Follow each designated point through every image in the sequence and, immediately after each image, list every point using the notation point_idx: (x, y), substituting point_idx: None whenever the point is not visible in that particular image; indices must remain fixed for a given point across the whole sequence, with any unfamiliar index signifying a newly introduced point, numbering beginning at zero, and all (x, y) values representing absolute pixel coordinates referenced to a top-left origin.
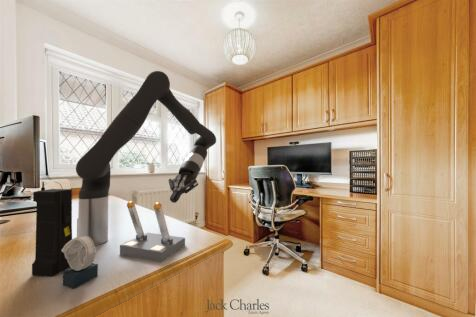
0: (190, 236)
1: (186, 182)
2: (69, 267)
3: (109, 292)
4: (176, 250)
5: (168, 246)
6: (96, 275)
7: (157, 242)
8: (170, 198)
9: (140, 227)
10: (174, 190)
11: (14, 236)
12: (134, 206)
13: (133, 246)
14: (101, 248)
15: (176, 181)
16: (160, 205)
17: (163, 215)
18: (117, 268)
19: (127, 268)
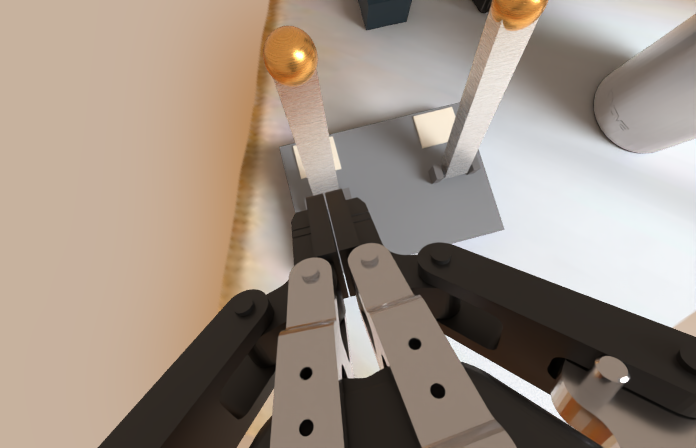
0: (375, 363)
1: (255, 437)
2: (476, 5)
3: (270, 18)
4: None
5: (297, 187)
6: (365, 25)
7: (366, 187)
8: (338, 190)
9: (454, 138)
10: (360, 245)
11: None
12: (496, 25)
13: (408, 120)
14: (552, 104)
15: (448, 347)
16: (263, 55)
17: (289, 123)
18: (363, 73)
19: (339, 87)
